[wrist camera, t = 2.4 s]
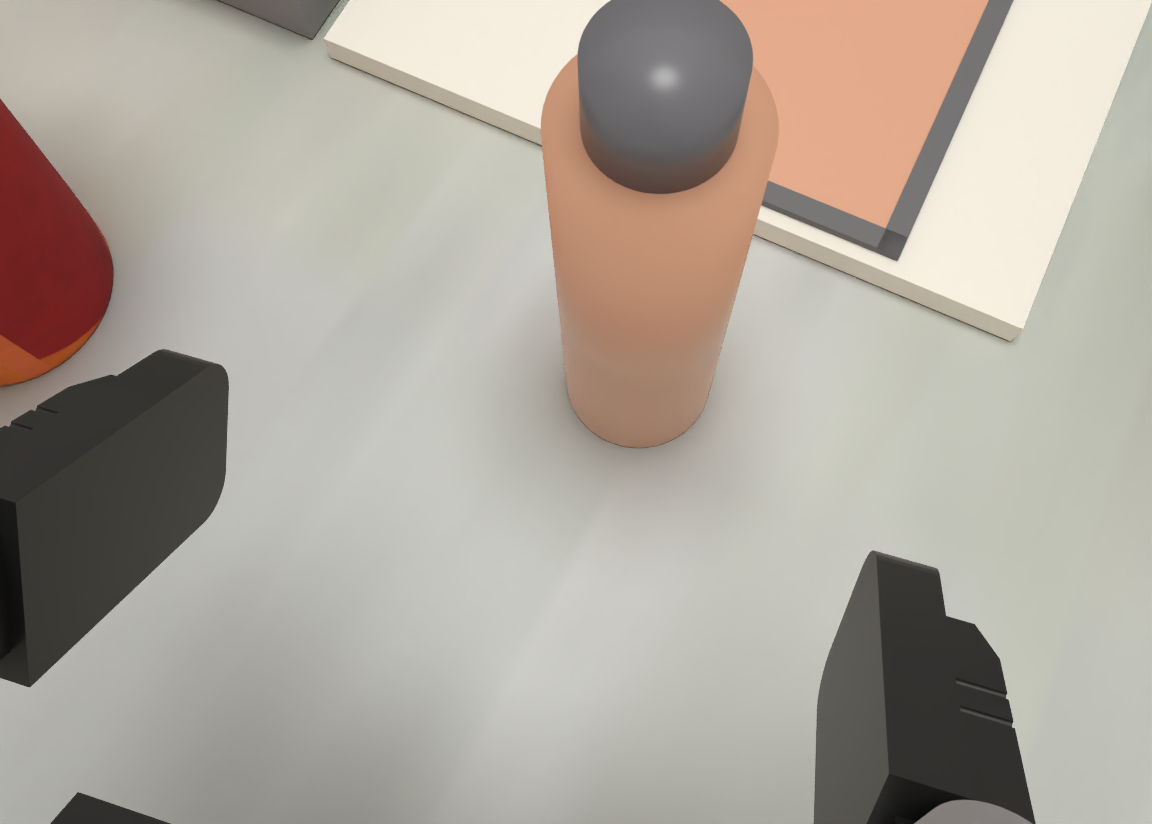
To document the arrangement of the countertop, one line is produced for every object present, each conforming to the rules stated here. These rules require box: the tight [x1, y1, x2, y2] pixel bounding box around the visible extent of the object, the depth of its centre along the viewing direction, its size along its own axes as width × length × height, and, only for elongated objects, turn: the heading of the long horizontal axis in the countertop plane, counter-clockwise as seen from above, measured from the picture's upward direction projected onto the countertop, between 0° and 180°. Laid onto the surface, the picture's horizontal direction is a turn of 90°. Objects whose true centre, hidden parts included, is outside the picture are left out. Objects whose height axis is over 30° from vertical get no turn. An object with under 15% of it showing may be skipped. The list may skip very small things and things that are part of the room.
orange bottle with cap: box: [541, 0, 779, 448], centre depth 20 cm, size 4×4×13 cm
